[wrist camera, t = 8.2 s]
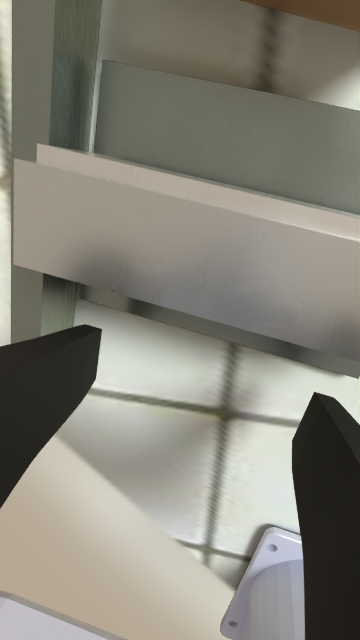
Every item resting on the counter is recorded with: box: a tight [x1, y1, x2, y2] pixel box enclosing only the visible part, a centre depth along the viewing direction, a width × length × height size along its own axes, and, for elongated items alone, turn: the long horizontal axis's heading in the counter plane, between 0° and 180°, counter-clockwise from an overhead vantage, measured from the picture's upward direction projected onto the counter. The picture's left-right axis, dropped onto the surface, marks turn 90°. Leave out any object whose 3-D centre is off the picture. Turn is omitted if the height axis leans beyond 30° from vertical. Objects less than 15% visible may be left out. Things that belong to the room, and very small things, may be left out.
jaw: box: [13, 143, 360, 362], centre depth 9 cm, size 3×11×4 cm, turn 78°
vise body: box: [11, 0, 360, 379], centre depth 8 cm, size 21×13×5 cm, turn 168°
